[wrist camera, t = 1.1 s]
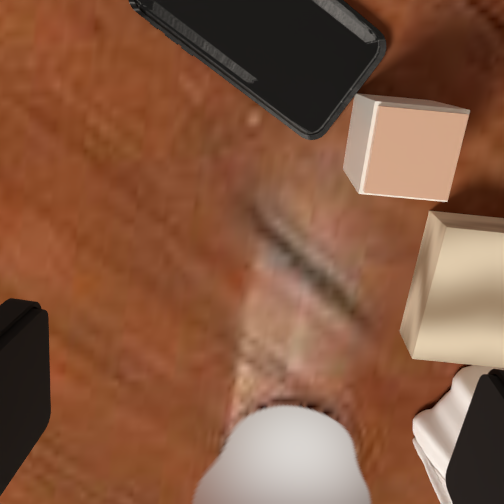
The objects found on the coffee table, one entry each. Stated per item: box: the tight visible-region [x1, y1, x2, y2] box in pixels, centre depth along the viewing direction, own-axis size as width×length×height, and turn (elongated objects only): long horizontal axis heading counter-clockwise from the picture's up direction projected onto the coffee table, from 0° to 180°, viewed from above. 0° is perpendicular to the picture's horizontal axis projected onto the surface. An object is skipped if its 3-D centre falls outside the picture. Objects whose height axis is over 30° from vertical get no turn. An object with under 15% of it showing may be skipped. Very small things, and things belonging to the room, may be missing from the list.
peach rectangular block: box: [343, 93, 470, 202], centre depth 29 cm, size 5×5×7 cm
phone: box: [129, 0, 386, 140], centre depth 30 cm, size 8×1×15 cm
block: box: [400, 211, 504, 368], centre depth 34 cm, size 10×10×4 cm
